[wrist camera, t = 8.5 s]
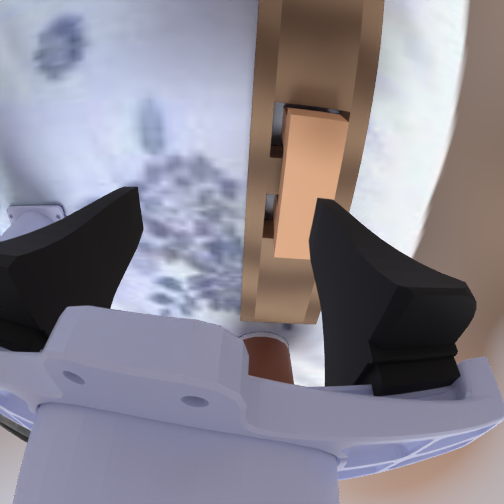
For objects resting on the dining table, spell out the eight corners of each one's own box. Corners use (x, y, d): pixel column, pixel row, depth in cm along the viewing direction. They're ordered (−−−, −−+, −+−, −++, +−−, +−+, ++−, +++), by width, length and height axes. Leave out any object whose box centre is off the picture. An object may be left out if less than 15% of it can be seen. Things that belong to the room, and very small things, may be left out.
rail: (313, 304, 29) (316, 324, 27) (241, 300, 29) (240, 320, 27) (371, -14, 12) (385, -21, 10) (262, -33, 12) (262, -44, 10)
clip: (310, 219, 23) (320, 260, 19) (272, 216, 23) (274, 257, 19) (329, 105, 18) (349, 122, 14) (284, 99, 18) (291, 114, 14)
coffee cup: (309, 328, 31) (319, 432, 22) (290, 369, 37) (293, 455, 27) (224, 319, 31) (212, 427, 21) (219, 363, 36) (210, 451, 27)
